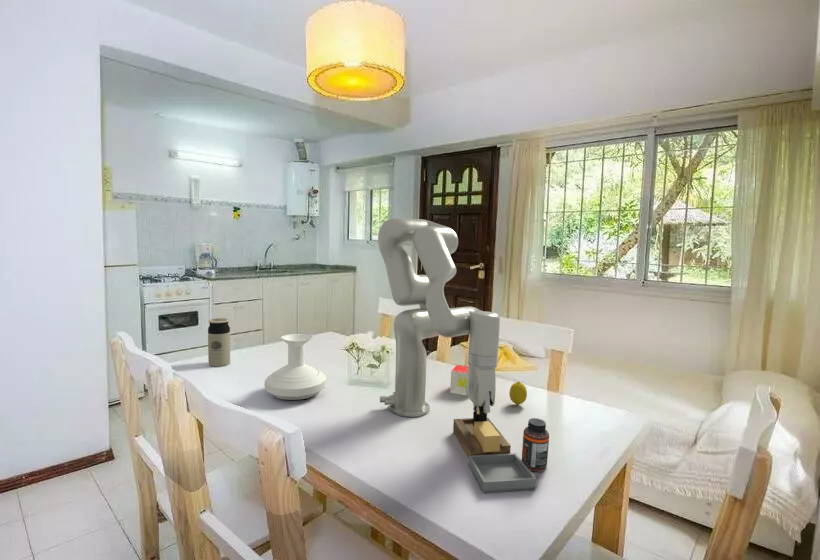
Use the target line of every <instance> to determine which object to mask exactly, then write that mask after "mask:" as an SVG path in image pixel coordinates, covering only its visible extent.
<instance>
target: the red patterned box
mask: <svg viewBox="0 0 820 560" xmlns="http://www.w3.org/2000/svg"><path fill="white" fill-rule="evenodd" d="M468 367H469V365H460V364H457V365H455V366H454V367H453V368H452V370H451V372H450V387H449V388H450V390H449V394H450V393H451V394H455V395H460V394H461V395H462V396H466V395H467V394H466V385H467V374H468Z"/></svg>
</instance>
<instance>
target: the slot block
mask: <svg viewBox="0 0 820 560" xmlns="http://www.w3.org/2000/svg"><path fill="white" fill-rule="evenodd" d="M487 421H489V422H490V423H491V424H492V425H493V427H494V428H495V430H496V431H497V432H498V433H499V434H500V451H497V452H483V450H482V449H481V447H480V446H479V444H478V443H477V441H476V440H475V438H474V426H473V417H471V418H454V419H453V425H452V426H453V429H452V430H453V431H452V434H453V435H454V437H455V439H456V440H457V442H458V444H459V446H460V447H461V449H462V451H463V452H464V454H465V456H466V458H467V459H468V456H475V455H493V454H511V447H512V445H511V444H510V443H509V442H508V441H507V439H506V438H505V437H504V435H503V434H502V433H501V432H500V431H499V430H498V428H497V427H496V425H495V424H494V422H492V421H491V420H490V418H489V417H487Z"/></svg>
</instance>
